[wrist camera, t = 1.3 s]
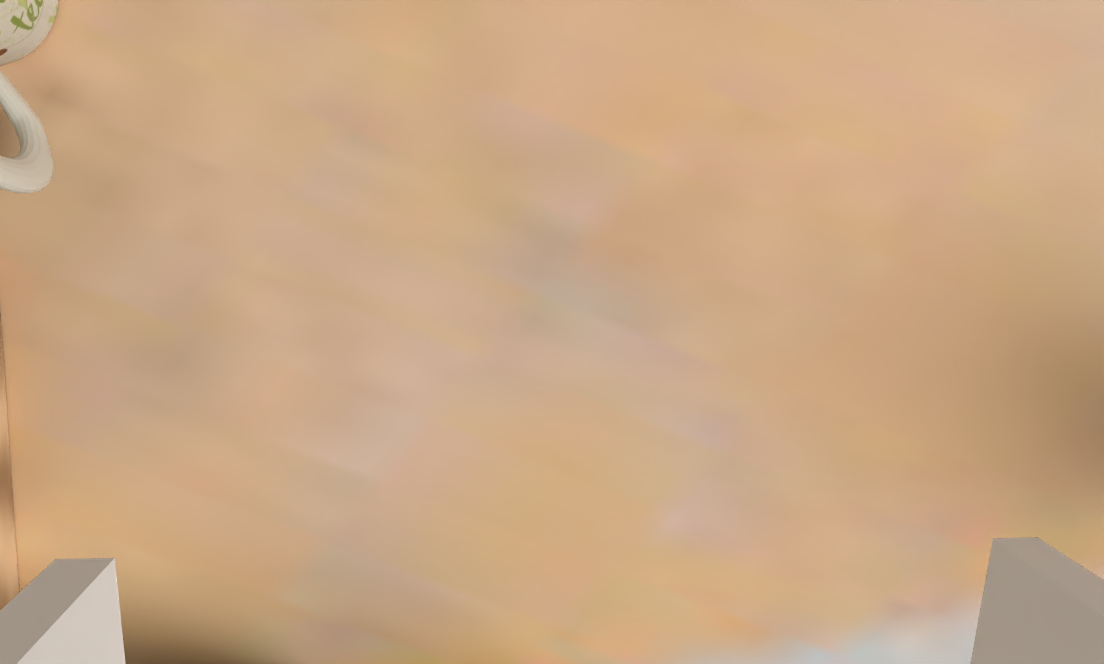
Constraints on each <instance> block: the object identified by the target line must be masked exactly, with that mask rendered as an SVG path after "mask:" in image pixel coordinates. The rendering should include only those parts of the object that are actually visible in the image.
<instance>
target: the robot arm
mask: <svg viewBox="0 0 1104 664" xmlns="http://www.w3.org/2000/svg"><path fill="white" fill-rule="evenodd" d="M0 664H125V654H124V644H123V634H122V624H121V615H120V605H119V595H118V585H117V576H116V566H115V558H93V559H55V560H54V561H53V562H52V563H51V564H50V565H49V566H48V567H47V568H46V569H44V570H43V571H42V572H41V573H40V574H39V575H38V576H37V577H36V578H35V579H34V580H33V581H32V582H30V583H29V584H28V585H27V586H26V587H25V588H24V589H23V590H22V591H21V592H20V593H19V594H18V595H16V596H15V597H14V598H13V599H12V600H11V601H10V602H9V603H8V604H7V605H6V606H5V607H4V608H2V609H1V610H0ZM971 664H1104V580H1103V579H1101V578H1100V577H1098V576H1097V575H1095V574H1093V573H1092V572H1090V571H1089V570H1087V569H1086V568H1084V567H1083V566H1081V565H1079V564H1078V563H1076V562H1075V561H1073V560H1072V559H1070V558H1069V557H1067V556H1066V555H1064V554H1062V553H1061V552H1059V551H1058V550H1056V549H1055V548H1053V547H1052V546H1050V545H1049V544H1047V543H1045V542H1044V541H1042V540H1041V539H1039V538H1038V537H1029V538H993V541H992V547H991V553H990V558H989V564H988V569H987V575H986V580H985V586H984V592H983V597H982V603H981V608H980V614H979V619H978V625H977V631H976V636H975V642H974V647H973V653H972V658H971Z"/></svg>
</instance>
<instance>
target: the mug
mask: <svg viewBox="0 0 1104 664" xmlns="http://www.w3.org/2000/svg"><path fill="white" fill-rule="evenodd" d="M58 1H59V0H0V65H4V64H8V63H11V62H14V61H16V60H19V59H21V58H23V57H24V56H26V55H28V54H29V53H31V52H32V51H33V50H35V49H36V48H37V47H38V46H39V45H40V44H41V43H42V42H43V40H44V39H45V38H46V36H47V35H48V33H49V32H50V30H51V28H52V26H53V23H54V20H55V18H56V13H57V9H58ZM0 105H1V106H2V108H3V109H4V111H5V113H6V114H7V116H8V118H9V120H10V121H11V123H12V125H13V127H14V129H15V132H16V134H17V136H18V138H19V142H20V151H19V154H18V155H17V156H16V157H14V158H8V157H3V156H0V189H3V190H6V191H10V192H15V193H25V194H26V193H33V192H38V191H40V190H42V189H43V188H44V187H45V186H46V185H47V184H48V183H49V182H50V180H51V178H52V174H53V159H52V155H51V151H50V148H49V144H48V141H47V137H46V134H45V131H44V128H43V126H42V124H41V122H40V120H39V118H38V117H37V115H36V114H35V113H34V111H33V110H32V109H31V107H30V106H29V105H28V103H27V102H26V101H25V100H24V99H23V97H22V96H21V95H20V94H19V92H18V91H17V90H16V89H15V87H14V86H13V85H12V84H11V82H10V81H9V80H8V79H7V78H6V76H5V75H4V74H3V73H2V72H1V71H0Z"/></svg>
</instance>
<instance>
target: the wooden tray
mask: <svg viewBox="0 0 1104 664" xmlns="http://www.w3.org/2000/svg"><path fill="white" fill-rule="evenodd" d="M18 594H19V584H18V569H17V554H16V539H15V524H14V509H13V494H12V479H11V464H10V449H9V434H8V419H7V404H6V389H5V374H4V359H3V344H2V329H1V314H0V610H1V609H2V608H4V607H5V606H6V605H7V604H8V603H9V602H10V601H11V600H12V599H13V598H14V597H15V596H16V595H18Z"/></svg>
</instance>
